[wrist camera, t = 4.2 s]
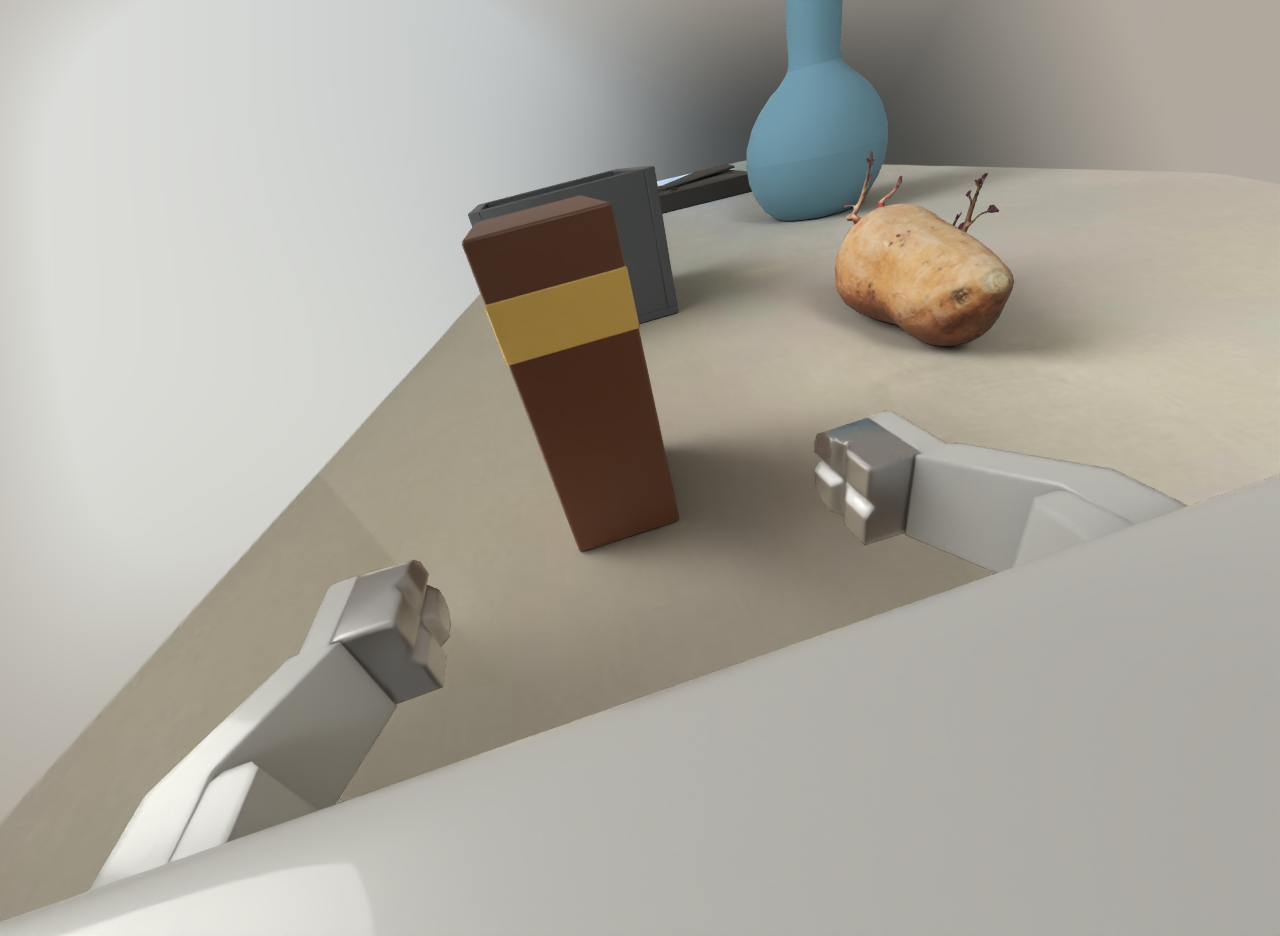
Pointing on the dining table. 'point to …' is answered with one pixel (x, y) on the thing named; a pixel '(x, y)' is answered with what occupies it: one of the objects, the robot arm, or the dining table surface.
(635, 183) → the gray open box
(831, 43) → the vase
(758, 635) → the dining table surface
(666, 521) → the chocolate box
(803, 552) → the dining table surface
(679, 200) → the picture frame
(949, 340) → the vegetable
